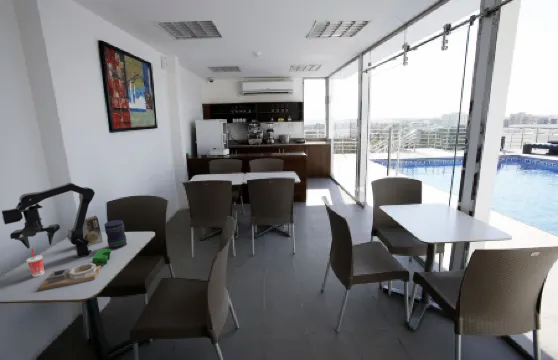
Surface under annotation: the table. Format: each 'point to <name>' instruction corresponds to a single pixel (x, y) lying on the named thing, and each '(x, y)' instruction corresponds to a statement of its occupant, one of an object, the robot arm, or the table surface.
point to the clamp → (101, 256)
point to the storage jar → (115, 234)
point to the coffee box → (92, 230)
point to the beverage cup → (36, 265)
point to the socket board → (68, 280)
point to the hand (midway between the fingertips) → (39, 246)
